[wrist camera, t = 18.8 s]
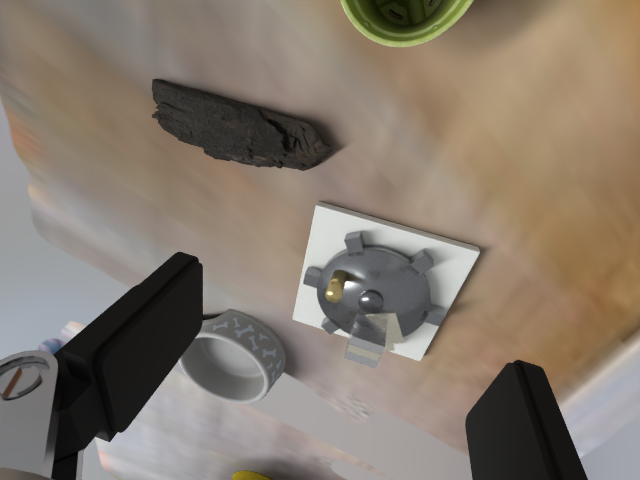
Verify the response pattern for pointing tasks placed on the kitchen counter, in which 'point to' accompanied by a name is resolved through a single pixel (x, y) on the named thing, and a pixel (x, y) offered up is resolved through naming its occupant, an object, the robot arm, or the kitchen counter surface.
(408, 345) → the base plate
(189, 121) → the wood
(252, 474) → the cake stand
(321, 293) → the sprocket
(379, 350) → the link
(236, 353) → the dog bowl
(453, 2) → the plant pot
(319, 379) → the kitchen counter surface
